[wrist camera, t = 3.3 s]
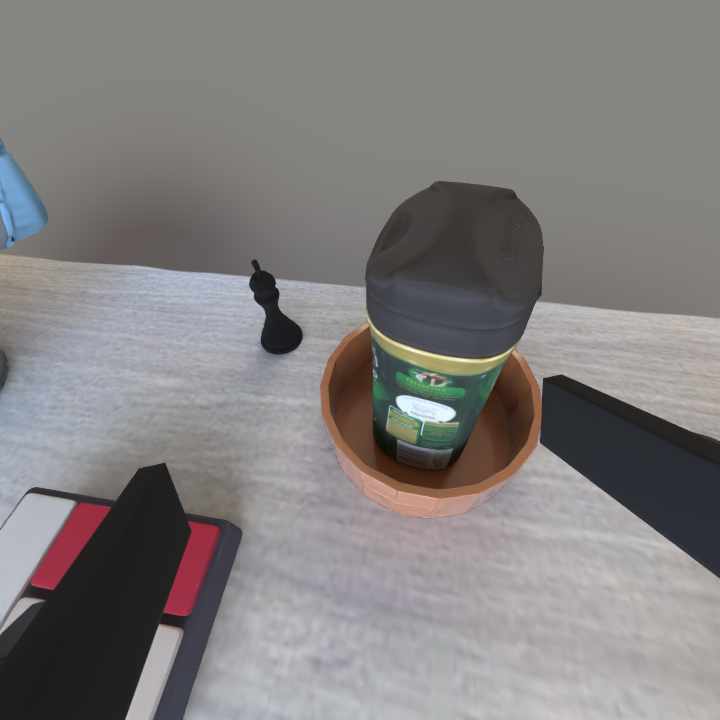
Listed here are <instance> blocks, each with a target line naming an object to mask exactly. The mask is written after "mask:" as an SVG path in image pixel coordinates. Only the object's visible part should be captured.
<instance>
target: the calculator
mask: <svg viewBox="0 0 720 720" xmlns="http://www.w3.org/2000/svg"><path fill="white" fill-rule="evenodd" d="M115 502H116V501H113V500H108V499H102V498H96V497H90V496H85V495H79V494H73V493H68V492H62V491H56V490H50V489H45V488H39V487H34V488H31V489H30V490H28V491H27V492H26V494H25V495H24V496H23V498H22V499H21V500H20V502H19V503H18V504H17V506H16V507H15V509H14V510H13V511H12V513H11V514H10V516H9V517H8V518H7V520H6V521H5V522H4V524H3V525H2V527H1V528H0V635H1V633H2V632H3V631H4V630H5V629H6V628H7V627H8V626H10V625H11V624H12V623H13V622H14V621H15V620H16V619H17V618H18V617H19V616H20V615H21V614H22V613H23V612H24V611H25V610H27V609H28V608H29V607H30V606H31V605H32V604H35V603H38V602H42V601H46V600H47V598H48V597H49V596H50V594H51V593H52V591H53V590H54V589H55V587H56V586H57V584H58V583H59V581H60V580H61V579H62V577H63V576H64V574H65V573H66V571H67V570H68V569H69V567H70V566H71V564H72V563H73V561H74V560H75V559H76V557H77V556H78V554H79V553H80V552H81V550H82V549H83V547H84V546H85V544H86V543H87V542H88V540H89V539H90V537H91V536H92V534H93V533H94V532H95V530H96V529H97V527H98V526H99V525H100V523H101V522H102V520H103V519H104V517H105V516H106V515H107V513H108V512H109V510H110V509H111V507H112V506H113V505H114V503H115ZM185 515H186V517H187V520H188V523H189V525H190V528H191V530H192V532H191V535H190V538H189V541H188V543H187V546H186V549H185V552H184V555H183V558H182V561H181V563H180V566H179V569H178V572H177V575H176V578H175V580H174V583H173V586H172V589H171V592H170V595H169V597H168V600H167V603H166V606H165V609H164V612H163V614H162V617H161V620H160V623H159V626H158V629H157V631H156V634H155V637H154V640H153V643H152V646H151V648H150V651H149V654H148V657H147V660H146V663H145V665H144V668H143V671H142V674H141V677H140V680H139V682H138V685H137V688H136V691H135V694H134V697H133V699H132V702H131V705H130V708H129V711H128V714H127V716H126V719H125V720H182V717H183V714H184V711H185V708H186V705H187V702H188V699H189V695H190V692H191V689H192V686H193V683H194V680H195V677H196V674H197V671H198V668H199V665H200V662H201V659H202V656H203V653H204V650H205V647H206V644H207V640H208V637H209V634H210V631H211V628H212V625H213V622H214V619H215V616H216V613H217V610H218V607H219V604H220V601H221V598H222V595H223V592H224V589H225V585H226V582H227V579H228V576H229V573H230V570H231V567H232V564H233V561H234V558H235V555H236V552H237V549H238V546H239V543H240V540H241V536H242V531H241V530H240V529H239V528H238V527H237V526H235V525H234V524H232V523H230V522H229V521H227V520H222V519H216V518H210V517H205V516H199V515H193V514H188V513H185Z"/></svg>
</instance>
